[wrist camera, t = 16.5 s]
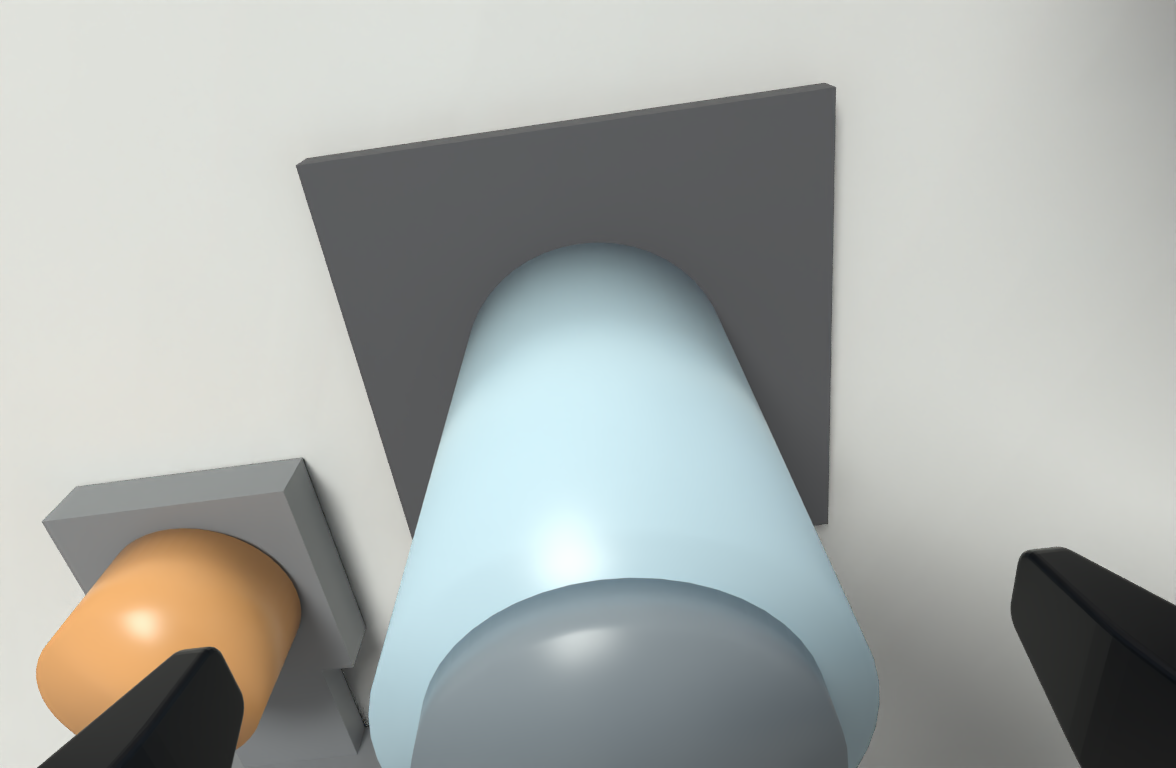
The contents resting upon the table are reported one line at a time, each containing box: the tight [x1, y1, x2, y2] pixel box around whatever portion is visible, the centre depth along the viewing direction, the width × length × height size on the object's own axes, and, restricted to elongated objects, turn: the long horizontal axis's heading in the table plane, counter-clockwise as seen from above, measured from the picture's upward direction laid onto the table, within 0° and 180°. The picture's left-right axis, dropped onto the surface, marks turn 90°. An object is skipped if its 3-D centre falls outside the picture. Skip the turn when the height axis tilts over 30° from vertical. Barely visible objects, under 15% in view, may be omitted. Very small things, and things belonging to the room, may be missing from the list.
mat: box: [296, 83, 836, 539], centre depth 15 cm, size 9×9×1 cm
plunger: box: [36, 528, 301, 750], centre depth 16 cm, size 4×4×4 cm
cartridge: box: [368, 242, 879, 768], centre depth 11 cm, size 5×5×9 cm
